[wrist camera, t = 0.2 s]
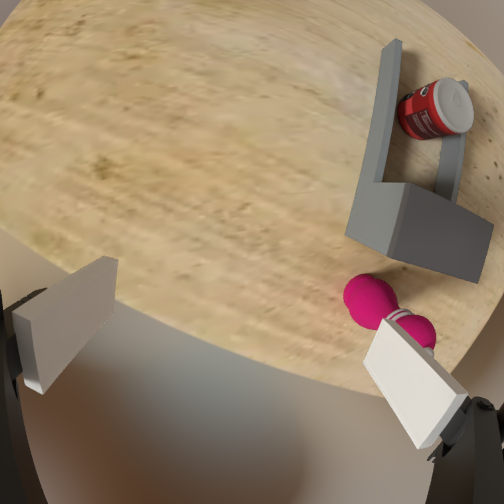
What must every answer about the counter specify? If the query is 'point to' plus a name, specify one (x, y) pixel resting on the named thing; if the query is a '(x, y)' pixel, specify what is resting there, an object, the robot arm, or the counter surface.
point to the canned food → (436, 110)
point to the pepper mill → (385, 310)
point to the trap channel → (415, 197)
